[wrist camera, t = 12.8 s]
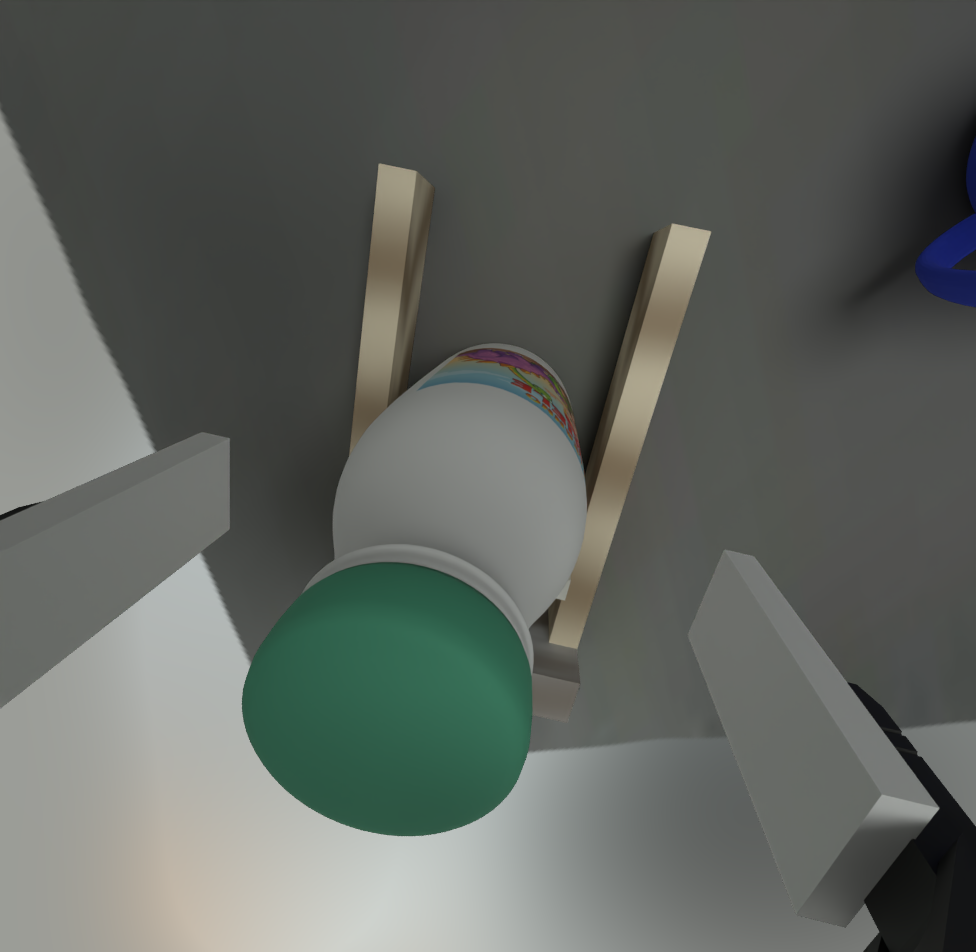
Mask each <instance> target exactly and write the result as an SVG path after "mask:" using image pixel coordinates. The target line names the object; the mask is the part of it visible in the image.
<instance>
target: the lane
mask: <svg viewBox="0 0 976 952" xmlns="http://www.w3.org/2000/svg"><path fill="white" fill-rule="evenodd" d="M434 191H435V188H434V187H433V186H432V185H431V184H430V183H429V182H428V181H427V180H426V179H425V178H424V177H422V176H421V175H420V174H419V173H418V172H417V171H413V170H408V169H404V168H399V167H394V166H389V165H384V164H379V168H378V178H377V188H376V198H375V207H374V217H373V227H372V237H371V247H370V257H369V266H368V276H367V286H366V296H365V306H364V316H363V325H362V335H361V345H360V355H359V365H358V375H357V384H356V394H355V404H354V414H353V424H352V433H351V443H350V453H349V456H350V454H351V452H352V450H353V449H354V447H355V446H356V444H357V443H358V441H359V440H360V438H361V437H362V435H363V434H364V432H365V431H366V429H367V428H368V427H369V426H370V425H371V424H372V423H373V421H374V420H375V419H376V418H377V417H378V416H379V415H380V414H381V413H382V412H384V411H385V410H386V409H387V408H388V407H389V406H390V405H391V404H392V403H393V402H394V401H395V400H396V399H397V398H398V397H400V396H401V395H402V394H403V393H405V392H406V391H407V386H408V378H409V371H410V364H411V357H412V349H413V342H414V335H415V328H416V321H417V313H418V306H419V299H420V292H421V284H422V277H423V270H424V263H425V256H426V248H427V241H428V234H429V227H430V219H431V212H432V205H433V198H434ZM710 234H711V231H706V230H701V229H696V228H691V227H686V226H682V225H677V224H671V225H669V226H667V227H665V228H663V229H661V230H659V231H657V232H655V233H654V234H653V237H652V241H651V244H650V248H649V252H648V255H647V259H646V262H645V266H644V269H643V273H642V276H641V280H640V283H639V287H638V290H637V294H636V297H635V301H634V304H633V308H632V311H631V315H630V318H629V322H628V325H627V329H626V332H625V336H624V339H623V343H622V346H621V350H620V353H619V357H618V361H617V364H616V368H615V371H614V375H613V378H612V382H611V385H610V389H609V392H608V396H607V399H606V403H605V406H604V410H603V413H602V417H601V420H600V424H599V427H598V431H597V434H596V438H595V441H594V445H593V448H592V452H591V455H590V459H589V462H588V466H587V469H586V473H585V485H586V497H587V516H586V524H585V532H584V538H583V543H582V546H581V550H580V553H579V556H578V559H577V561H576V564H575V567H574V569H573V571H572V573H571V582H570V585H569V589H568V592H567V595H566V599H565V601H564V600H560V599H555V600H554V602H553V603H552V604H551V605H550V606H549V608H548V609H547V610H546V611H545V612H544V613H543V614H542V615H541V616H540V617H539V618H538V619H537V620H536V621H535V622H534V623H533V624H532V625H531V626H530V628H529V632H530V635H531V639H532V644H533V652H534V664H533V672H532V708H533V713H532V715H535V716H539V717H544V718H548V719H552V720H557V721H561V722H565V723H567V722H568V719H569V716H570V713H571V710H572V707H573V704H574V701H575V698H576V695H577V692H578V689H579V686H580V676H579V665H578V654H577V648H578V645H579V642H580V638H581V635H582V632H583V629H584V626H585V623H586V620H587V617H588V614H589V610H590V607H591V604H592V601H593V598H594V595H595V592H596V589H597V586H598V582H599V579H600V576H601V573H602V570H603V567H604V564H605V561H606V558H607V554H608V551H609V548H610V545H611V542H612V539H613V536H614V533H615V530H616V526H617V523H618V520H619V517H620V514H621V511H622V508H623V505H624V502H625V498H626V495H627V492H628V489H629V486H630V483H631V480H632V477H633V474H634V470H635V467H636V464H637V461H638V458H639V455H640V452H641V449H642V446H643V442H644V439H645V436H646V433H647V430H648V427H649V424H650V421H651V418H652V414H653V411H654V408H655V405H656V402H657V399H658V396H659V393H660V390H661V386H662V383H663V380H664V377H665V374H666V371H667V368H668V365H669V362H670V358H671V355H672V352H673V349H674V346H675V343H676V340H677V337H678V334H679V330H680V327H681V324H682V321H683V318H684V315H685V312H686V309H687V306H688V302H689V299H690V296H691V293H692V290H693V287H694V284H695V281H696V278H697V274H698V271H699V268H700V265H701V262H702V259H703V256H704V253H705V250H706V246H707V243H708V240H709V237H710Z"/></svg>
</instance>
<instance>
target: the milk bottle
mask: <svg viewBox="0 0 976 952" xmlns="http://www.w3.org/2000/svg"><path fill="white" fill-rule="evenodd" d="M586 516H587V497H586V485H585V473H584V467H583V462H582V456H581V451H580V445H579V440H578V434H577V430H576V425H575V420H574V415H573V411H572V407H571V403H570V400H569V397H568V394H567V392H566V389H565V387H564V385H563V383H562V381H561V380H560V378H559V377H558V375H557V374H556V373H555V371H554V370H553V369H552V368H551V367H550V366H549V365H548V364H547V363H546V362H545V361H543V360H542V359H541V358H540V357H538V356H537V355H535V354H533V353H531V352H530V351H528V350H525V349H523V348H520V347H517V346H514V345H509V344H502V343H487V344H480V345H476V346H472V347H469V348H466V349H464V350H462V351H460V352H458V353H456V354H454V355H453V356H451V357H449V358H448V359H447V360H445V361H444V362H443V363H441V364H440V365H439V366H437V367H436V368H435V369H433V370H432V371H431V372H429V373H428V374H427V375H426V376H424V377H423V378H422V379H420V380H419V381H418V382H417V383H415V384H414V385H413V386H412V387H411V388H409V389H408V390H407V391H406V392H405V393H403V394H402V395H401V396H400V397H398V398H397V399H396V400H395V401H394V402H393V403H392V404H391V405H390V406H389V407H388V408H387V409H386V410H385V411H384V412H382V413H381V414H380V415H379V416H378V417H377V418H376V419H375V420H374V421H373V423H372V424H371V425H370V426H369V427H368V428H367V429H366V431H365V432H364V434H363V435H362V437H361V438H360V440H359V441H358V443H357V444H356V446H355V447H354V449H353V450H352V452H351V454H350V456H349V458H348V460H347V462H346V465H345V467H344V470H343V472H342V475H341V477H340V480H339V484H338V487H337V491H336V497H335V503H334V509H333V544H334V554H335V560H333V561H332V562H330V563H329V564H327V565H326V566H325V567H324V568H322V569H321V570H320V571H319V572H318V573H317V574H316V575H315V576H314V577H313V578H312V579H311V580H310V582H309V583H308V584H307V586H306V587H305V589H304V591H303V592H302V594H301V595H300V596H299V597H298V599H297V600H296V601H295V602H294V603H293V604H292V605H291V606H290V607H289V608H288V610H287V611H286V612H285V613H284V614H283V615H282V616H281V618H280V619H279V620H278V622H277V623H276V624H275V626H274V627H273V628H272V630H271V631H270V633H269V634H268V636H267V637H266V638H265V640H264V641H263V643H262V644H261V646H260V647H259V649H258V651H257V652H256V654H255V656H254V658H253V661H252V663H251V666H250V669H249V672H248V675H247V677H246V680H245V684H244V688H243V696H242V712H243V719H244V724H245V728H246V732H247V734H248V737H249V740H250V742H251V744H252V746H253V748H254V750H255V752H256V754H257V755H258V757H259V758H260V760H261V762H262V763H263V765H264V766H265V767H266V769H267V770H268V771H269V772H270V774H271V775H272V776H273V777H274V778H275V780H276V781H277V782H278V783H279V784H280V785H281V786H282V787H283V788H284V789H285V790H286V791H288V792H289V793H290V794H291V795H292V796H294V797H295V798H296V799H298V800H299V801H301V802H302V803H303V804H305V805H306V806H308V807H309V808H311V809H313V810H314V811H316V812H318V813H320V814H322V815H324V816H325V817H327V818H330V819H332V820H334V821H336V822H339V823H341V824H345V825H347V826H350V827H353V828H356V829H360V830H363V831H368V832H372V833H378V834H384V835H394V836H423V835H431V834H437V833H441V832H446V831H450V830H452V829H456V828H459V827H462V826H465V825H467V824H470V823H472V822H473V821H476V820H478V819H479V818H481V817H483V816H485V815H486V814H488V813H489V812H491V811H492V810H493V809H494V808H495V807H497V806H498V805H499V804H500V803H501V802H502V801H503V800H504V799H505V798H506V797H507V795H508V794H509V793H510V792H511V790H512V789H513V787H514V785H515V784H516V782H517V780H518V778H519V775H520V773H521V770H522V768H523V765H524V762H525V760H526V757H527V753H528V749H529V743H530V734H531V723H532V713H533V708H532V672H533V664H534V652H533V644H532V639H531V635H530V632H529V628H530V626H531V625H532V624H533V623H534V622H535V621H536V620H537V619H538V618H539V617H540V616H541V615H542V614H543V613H544V612H545V611H546V610H547V609H548V608H549V606H550V605H551V604H552V603H553V602H554V600H555V599H556V598H557V597H558V595H559V594H560V592H561V591H562V589H563V588H564V586H565V584H566V582H567V581H568V579H569V577H570V575H571V573H572V571H573V569H574V567H575V564H576V561H577V559H578V556H579V553H580V550H581V546H582V543H583V538H584V532H585V524H586Z"/></svg>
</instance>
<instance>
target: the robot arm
mask: <svg viewBox="0 0 976 952" xmlns="http://www.w3.org/2000/svg"><path fill="white" fill-rule="evenodd" d="M229 529H230V438H227V437H222V436H218V435H213V434H209V433H204V432H201V433H198V434H196V435H194V436H192V437H189V438H187V439H185V440H182V441H180V442H178V443H176V444H173V445H171V446H169V447H167V448H164V449H162V450H160V451H157V452H155V453H153V454H151V455H148V456H146V457H144V458H142V459H139V460H137V461H135V462H133V463H130V464H128V465H126V466H123V467H121V468H119V469H117V470H114V471H112V472H110V473H107V474H105V475H103V476H101V477H98V478H96V479H94V480H91V481H89V482H87V483H85V484H83V485H81V486H78V487H76V488H73V489H71V490H69V491H66V492H64V493H62V494H60V495H57V496H55V497H53V498H51V499H48V500H46V501H43V502H39V503H35V504H31V505H26V506H23V507H18V508H16V509H14V510H12V511H9V512H7V513H4V514H2V515H0V708H2V707H3V706H4V705H5V704H7V703H8V702H9V701H11V700H12V699H13V698H15V697H16V696H17V695H18V694H20V693H21V692H22V691H23V690H25V689H26V688H27V687H28V686H30V685H31V684H32V683H33V682H35V681H36V680H37V679H39V678H40V677H41V676H43V675H44V674H45V673H46V672H48V671H49V670H50V669H51V668H53V667H54V666H55V665H57V664H58V663H59V662H61V661H62V660H63V659H64V658H66V657H67V656H68V655H69V654H71V653H72V652H73V651H75V650H76V649H77V648H78V647H80V646H81V645H82V644H83V643H84V642H86V641H87V640H89V639H90V638H91V637H93V636H94V635H95V634H96V633H98V632H99V631H100V630H101V629H102V628H104V627H105V626H106V625H108V624H109V623H110V622H112V621H113V620H114V619H116V618H117V617H118V616H119V615H121V614H122V613H123V612H124V611H126V610H127V609H128V608H130V607H131V606H132V605H133V604H135V603H136V602H137V601H139V600H140V599H141V598H142V597H143V596H145V595H146V594H147V593H149V592H150V591H151V590H153V589H154V588H155V587H156V586H158V585H159V584H160V583H161V582H162V581H164V580H165V579H166V578H168V577H169V576H171V575H172V574H173V573H174V572H176V571H177V570H178V569H179V568H181V567H182V566H183V565H185V564H186V563H187V562H188V561H190V560H191V559H192V558H194V557H195V556H196V555H197V554H199V553H200V552H201V551H203V550H204V549H205V548H206V547H208V546H209V545H210V544H211V543H213V542H214V541H215V540H217V539H218V538H219V537H220V536H222V535H223V534H224V533H226V532H227V531H228V530H229ZM688 638H689V640H690V643H691V645H692V648H693V651H694V653H695V656H696V658H697V661H698V664H699V666H700V669H701V671H702V674H703V676H704V679H705V682H706V684H707V687H708V689H709V692H710V695H711V697H712V700H713V702H714V705H715V707H716V710H717V713H718V715H719V718H720V720H721V723H722V726H723V728H724V731H725V733H726V736H727V738H728V741H729V744H730V746H731V749H732V751H733V754H734V757H735V759H736V762H737V764H738V767H739V769H740V772H741V775H742V777H743V780H744V782H745V785H746V788H747V790H748V793H749V795H750V798H751V800H752V803H753V806H754V808H755V811H756V813H757V816H758V819H759V821H760V824H761V826H762V829H763V832H764V834H765V837H766V839H767V842H768V844H769V847H770V849H771V852H772V854H773V857H774V860H775V862H776V865H777V868H778V870H779V873H780V875H781V878H782V881H783V883H784V886H785V888H786V891H787V893H788V896H789V899H790V901H791V904H792V906H793V909H794V911H795V914H796V915H797V916H801V917H805V918H809V919H813V920H817V921H821V922H826V923H829V924H833V925H837V926H842V927H846V926H847V925H848V924H849V923H850V921H851V920H852V919H853V918H854V916H855V915H856V914H857V913H858V911H859V910H860V909H861V907H862V906H863V905H864V904H866V906H867V908H868V910H869V912H870V914H871V916H872V918H873V920H874V922H875V924H876V926H877V928H878V930H879V933H878V935H877V936H876V937H875V938H874V939H873V941H872V942H871V943H870V944H869V945H868V946H867V948H866V949H865V950H864V951H863V952H976V826H975V825H974V824H973V823H972V821H971V820H970V819H969V817H968V816H967V815H966V814H965V812H964V811H963V810H962V808H961V807H960V806H959V805H958V803H957V802H956V801H955V799H954V798H953V797H952V796H951V794H950V793H949V792H948V791H947V789H946V788H945V787H944V785H943V784H942V783H941V781H940V780H939V779H938V778H937V776H936V775H935V774H934V773H933V771H932V770H931V769H930V767H929V766H928V765H927V763H926V762H925V761H924V760H923V758H922V757H919V756H917V751H916V749H915V748H914V747H913V745H912V744H911V743H910V742H909V740H908V739H907V738H906V736H902V735H901V732H902V731H901V730H900V729H899V727H898V726H897V725H896V724H895V722H894V721H893V720H892V718H891V717H890V716H889V715H888V713H887V712H886V711H885V709H884V708H883V707H882V706H881V705H880V704H878V703H877V702H876V701H875V700H874V699H873V698H872V697H870V696H869V695H868V694H867V693H866V692H865V691H863V690H862V689H861V688H860V687H859V686H858V685H856V684H852V683H848V682H846V681H845V679H844V678H843V676H842V675H841V674H840V672H839V671H838V670H837V668H836V667H835V666H834V664H833V663H832V662H831V660H830V659H829V657H828V656H827V655H826V653H825V652H824V651H823V649H822V648H821V647H820V645H819V644H818V643H817V641H816V640H815V638H814V637H813V636H812V634H811V633H810V632H809V630H808V629H807V628H806V626H805V625H804V624H803V622H802V621H801V619H800V618H799V617H798V615H797V614H796V613H795V611H794V610H793V609H792V607H791V606H790V605H789V603H788V602H787V600H786V599H785V598H784V596H783V595H782V594H781V592H780V591H779V590H778V588H777V587H776V586H775V584H774V583H773V581H772V580H771V579H770V577H769V576H768V575H767V573H766V572H765V571H764V569H763V568H762V566H761V565H760V564H759V562H758V561H757V560H756V558H755V557H754V556H751V555H746V554H742V553H737V552H733V551H728V550H724V551H723V553H722V556H721V558H720V560H719V563H718V565H717V567H716V570H715V572H714V574H713V577H712V579H711V581H710V584H709V586H708V588H707V591H706V593H705V595H704V598H703V600H702V602H701V605H700V607H699V609H698V612H697V614H696V617H695V619H694V621H693V624H692V626H691V628H690V631H689V633H688Z"/></svg>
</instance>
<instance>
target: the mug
mask: <svg viewBox="0 0 976 952" xmlns="http://www.w3.org/2000/svg"><path fill="white" fill-rule="evenodd" d="M966 185H967V191H968V195H969V199H970V202H971V205H972V207H973V209H974V211H975V214H973V215H971V216H969V217H968V218H966V219H964V220H963V221H961V222H959V223H958V224H956V225H955V226H953V227H952V228H950V229H949V230H947V231H946V232H944V233H943V234H942V235H940V236H939V237H938V238H937V239H935V240H934V241H933V242H932V243H931V244H929V245H928V246H927V247H926V248H925V249H924V251H923V252H922V253H921V254H920V256H919V257H918V259H917V261H916V265H915V271H916V274H917V276H918V278H919V280H920V282H921V283H922V284H923V286H924V287H925V288H926V289H927V290H928V291H929V292H930V293H932V294H933V295H935V296H937V297H940V298H942V299H945V300H948V301H951V302H954V303H958V304H962V305H966V306H972V307H976V271H974V270H958V269H951V268H952V267H953V266H954V265H955V264H956V263H958V262H959V261H960V260H961V259H963V258H964V257H965V256H967V255H968V254H970V253H971V252H973V251H974V250H976V137H975V139H974V142H973V145H972V147H971V150H970V154H969V158H968V163H967V170H966Z"/></svg>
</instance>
